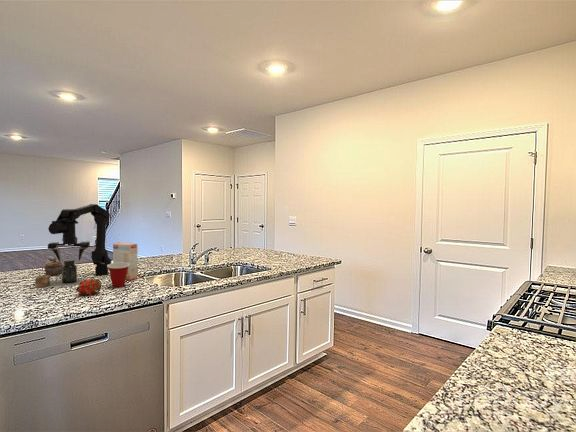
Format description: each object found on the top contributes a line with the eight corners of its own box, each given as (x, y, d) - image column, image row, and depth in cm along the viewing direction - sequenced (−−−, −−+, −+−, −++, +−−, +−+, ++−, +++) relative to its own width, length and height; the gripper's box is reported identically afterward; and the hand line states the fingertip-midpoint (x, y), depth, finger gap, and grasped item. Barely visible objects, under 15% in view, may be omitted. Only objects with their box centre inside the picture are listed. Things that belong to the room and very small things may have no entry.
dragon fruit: (104, 295, 170) (78, 303, 161) (97, 283, 174) (71, 291, 165) (106, 283, 166) (79, 292, 157) (98, 272, 169) (72, 279, 160)
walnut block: (49, 284, 178) (49, 275, 178) (47, 286, 173) (46, 277, 173) (38, 285, 176) (38, 275, 176) (35, 287, 172) (35, 277, 171)
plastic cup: (107, 289, 174) (106, 266, 174) (107, 284, 184) (107, 263, 183) (130, 287, 179) (129, 265, 179) (129, 282, 189) (129, 261, 188)
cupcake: (66, 274, 207) (66, 258, 206) (48, 277, 199) (48, 260, 198) (59, 272, 212) (59, 256, 211) (41, 275, 204) (41, 258, 203)
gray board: (84, 281, 191) (84, 278, 191) (79, 287, 178) (79, 284, 178) (42, 283, 184) (42, 281, 184) (34, 290, 171) (33, 287, 171)
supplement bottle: (59, 282, 182) (58, 260, 181) (71, 280, 188) (70, 258, 187) (67, 284, 179) (67, 262, 179) (79, 281, 186) (79, 259, 185)
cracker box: (138, 278, 199) (137, 243, 198) (129, 280, 194) (129, 244, 193) (121, 276, 205) (121, 242, 204) (112, 278, 200) (112, 243, 198)
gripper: (91, 230, 194) (91, 257, 194) (52, 231, 187) (53, 259, 187) (87, 232, 183) (88, 260, 184) (47, 233, 176) (47, 262, 177)
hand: (69, 260), depth 183 cm, fingers open, 9 cm apart
